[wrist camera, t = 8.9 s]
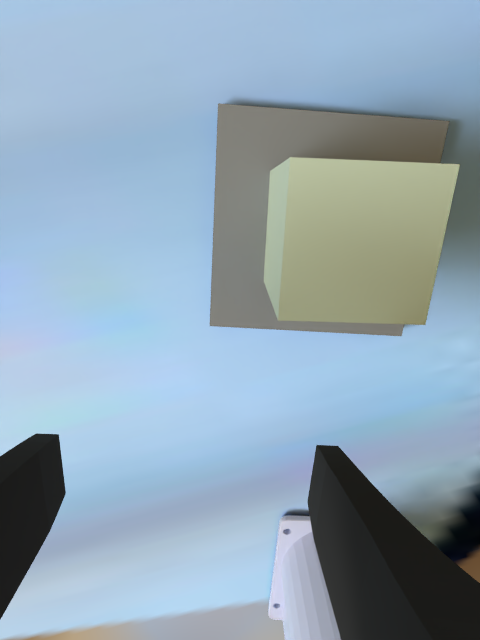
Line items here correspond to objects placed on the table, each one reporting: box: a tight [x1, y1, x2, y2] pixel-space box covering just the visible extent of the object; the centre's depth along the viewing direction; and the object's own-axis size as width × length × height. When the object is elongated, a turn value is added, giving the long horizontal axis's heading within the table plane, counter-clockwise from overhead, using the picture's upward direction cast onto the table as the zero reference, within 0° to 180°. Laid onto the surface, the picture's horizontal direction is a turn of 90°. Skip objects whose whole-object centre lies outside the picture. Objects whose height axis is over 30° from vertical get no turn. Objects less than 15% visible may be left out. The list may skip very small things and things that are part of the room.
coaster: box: [210, 104, 449, 336], centre depth 17 cm, size 10×10×1 cm
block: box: [264, 157, 460, 325], centre depth 14 cm, size 5×5×6 cm
